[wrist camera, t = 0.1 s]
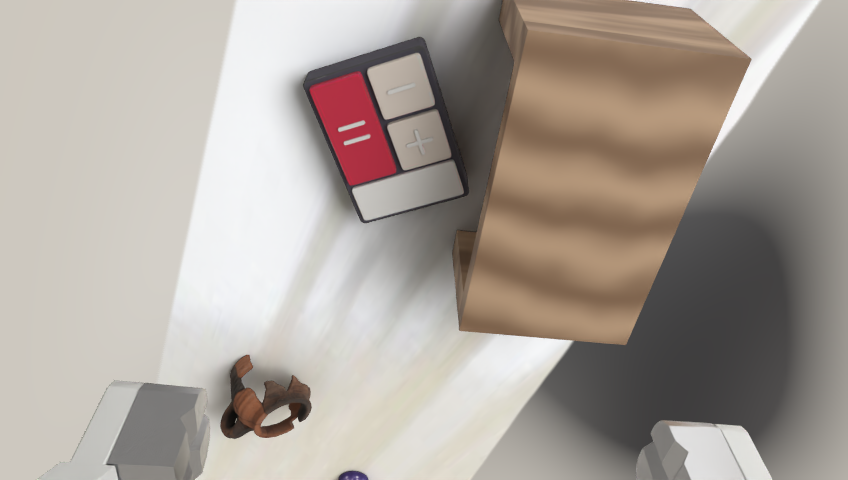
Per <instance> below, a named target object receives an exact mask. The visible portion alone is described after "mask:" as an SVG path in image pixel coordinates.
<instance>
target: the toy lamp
mask: <svg viewBox="0 0 848 480" xmlns="http://www.w3.org/2000/svg"><path fill="white" fill-rule="evenodd" d="M339 480H368V478H367V476H366V475H365V474H363V473H360V472H356V471H349V472H345V473H343V474H342V475H341V476H340V477H339Z"/></svg>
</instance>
